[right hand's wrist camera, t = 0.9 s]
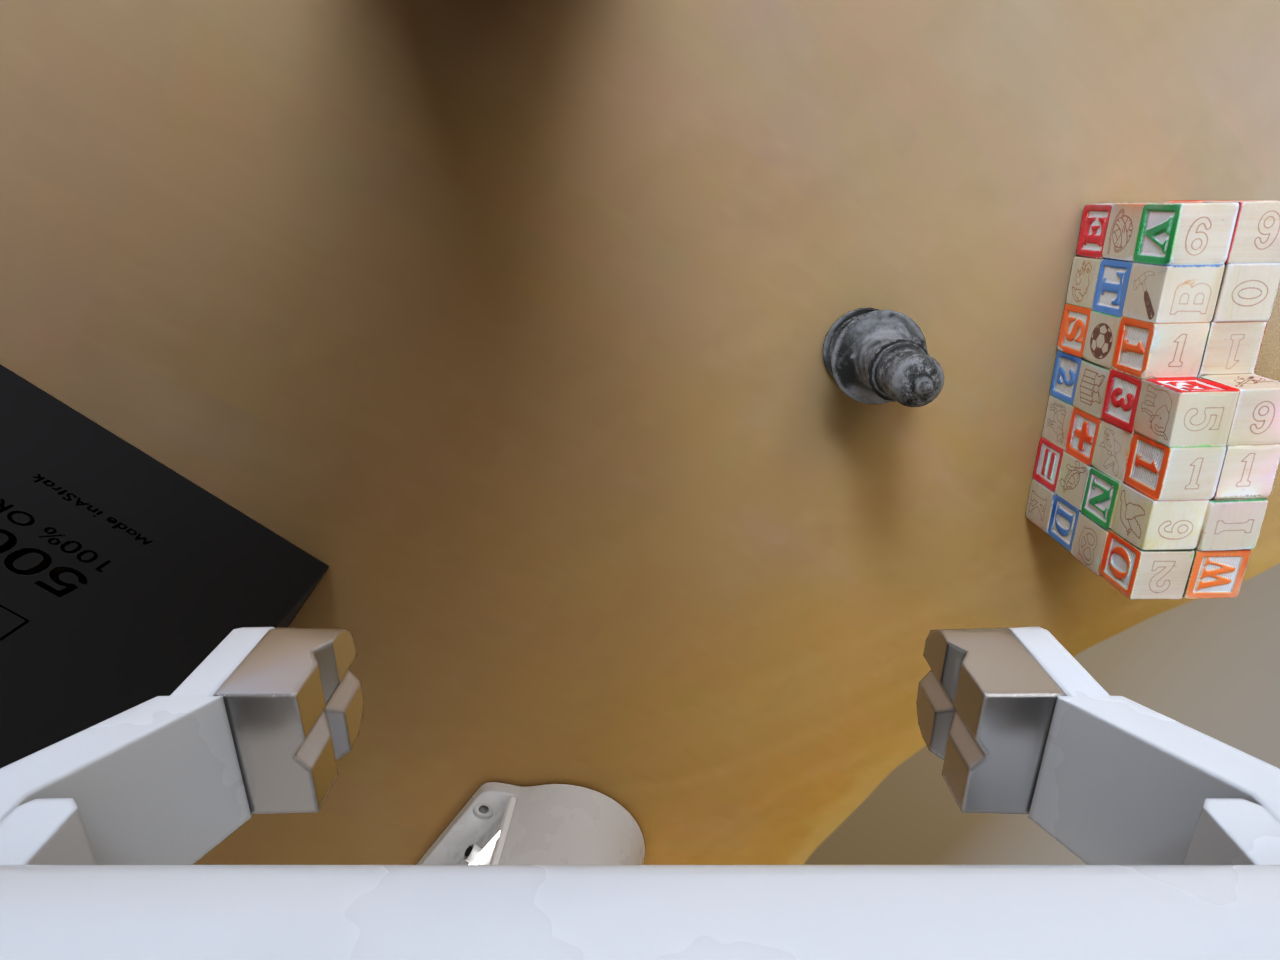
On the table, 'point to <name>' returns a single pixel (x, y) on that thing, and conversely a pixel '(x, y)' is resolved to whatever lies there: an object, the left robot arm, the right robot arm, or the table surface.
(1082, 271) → the stack of blocks
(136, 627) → the black computer case
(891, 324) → the grey chess piece
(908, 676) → the table surface
